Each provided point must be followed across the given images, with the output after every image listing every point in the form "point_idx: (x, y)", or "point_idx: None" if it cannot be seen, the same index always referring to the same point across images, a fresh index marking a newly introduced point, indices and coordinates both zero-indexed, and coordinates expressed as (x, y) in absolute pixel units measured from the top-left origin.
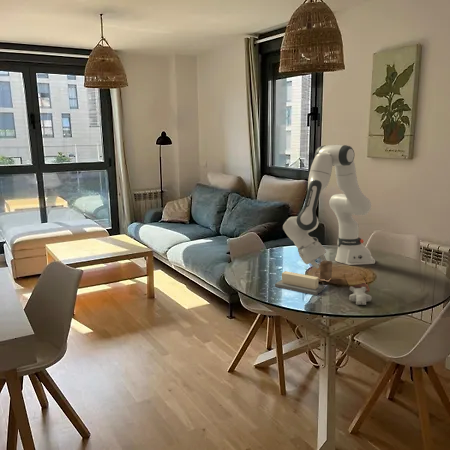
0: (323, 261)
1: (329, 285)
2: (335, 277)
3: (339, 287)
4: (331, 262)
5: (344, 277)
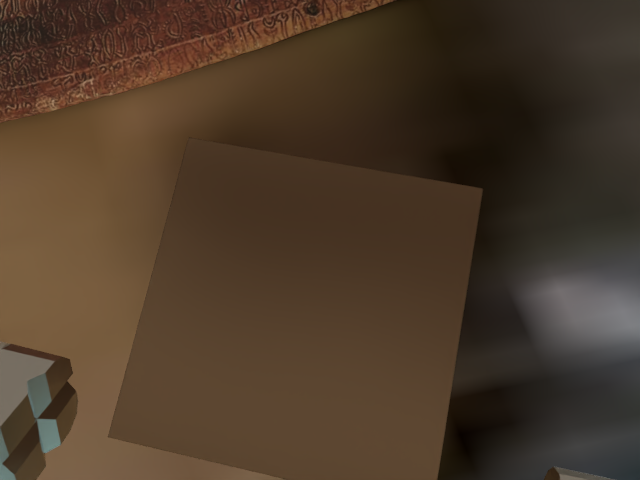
0: (270, 422)
1: (543, 241)
2: (125, 228)
3: (566, 87)
4: (241, 152)
5: (88, 105)
